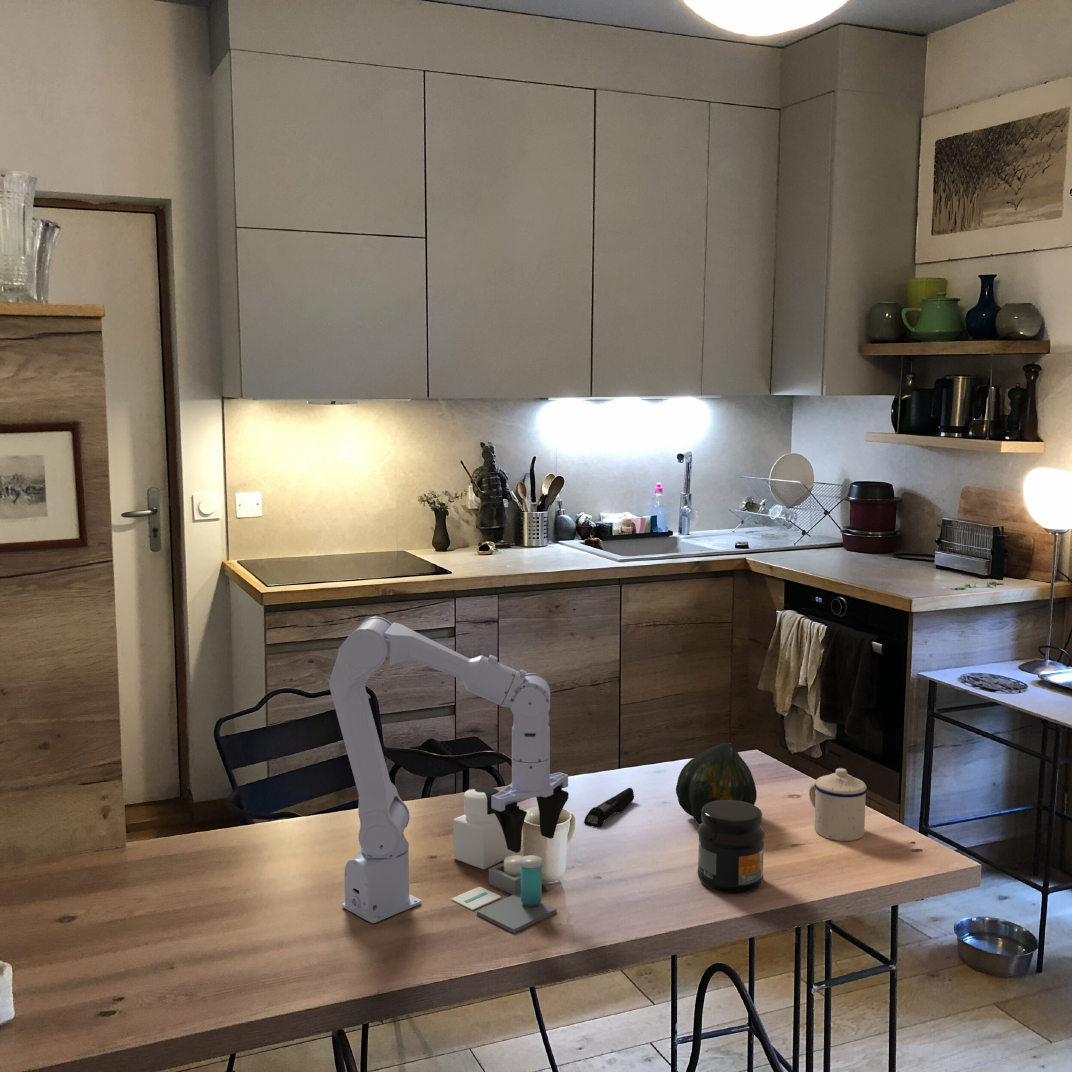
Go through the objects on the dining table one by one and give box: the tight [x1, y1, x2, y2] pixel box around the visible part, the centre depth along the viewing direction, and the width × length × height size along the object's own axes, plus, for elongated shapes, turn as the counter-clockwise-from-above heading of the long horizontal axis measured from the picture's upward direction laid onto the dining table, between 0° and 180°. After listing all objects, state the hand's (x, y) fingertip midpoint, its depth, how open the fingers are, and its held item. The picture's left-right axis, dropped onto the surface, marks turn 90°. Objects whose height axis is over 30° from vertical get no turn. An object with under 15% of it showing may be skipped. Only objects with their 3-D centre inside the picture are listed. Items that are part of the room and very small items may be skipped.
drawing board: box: [476, 892, 557, 934], centre depth 163 cm, size 9×8×1 cm
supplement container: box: [697, 800, 766, 895], centre depth 173 cm, size 10×10×12 cm
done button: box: [503, 854, 524, 877], centre depth 173 cm, size 4×4×3 cm
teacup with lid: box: [808, 767, 868, 842], centre depth 194 cm, size 12×9×12 cm
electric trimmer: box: [583, 787, 635, 828], centre depth 203 cm, size 4×16×3 cm, turn 147°
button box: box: [488, 862, 521, 896], centre depth 173 cm, size 6×6×2 cm
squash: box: [675, 742, 758, 826], centre depth 199 cm, size 14×15×15 cm
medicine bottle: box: [452, 785, 512, 870], centre depth 182 cm, size 7×7×12 cm
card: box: [450, 886, 502, 911], centre depth 168 cm, size 6×5×1 cm
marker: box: [520, 854, 543, 908], centre depth 164 cm, size 3×3×7 cm
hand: (530, 843), depth 164 cm, fingers open, 7 cm apart
